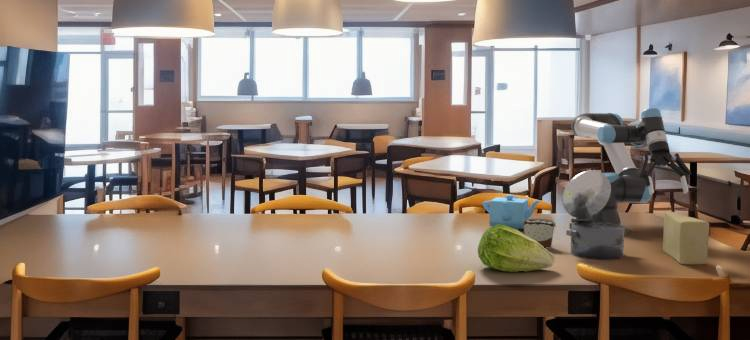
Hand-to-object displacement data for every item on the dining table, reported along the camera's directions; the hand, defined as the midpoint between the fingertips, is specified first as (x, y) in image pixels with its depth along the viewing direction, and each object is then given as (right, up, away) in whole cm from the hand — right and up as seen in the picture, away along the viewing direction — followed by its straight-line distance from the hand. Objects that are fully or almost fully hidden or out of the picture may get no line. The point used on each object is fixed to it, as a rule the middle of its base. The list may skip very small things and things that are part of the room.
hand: (669, 193), depth 274 cm
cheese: (-8, -22, -27) cm, 36 cm away
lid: (-37, -1, -18) cm, 41 cm away
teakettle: (-57, -16, +24) cm, 64 cm away
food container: (-53, -20, -9) cm, 57 cm away
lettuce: (-69, -24, -47) cm, 87 cm away
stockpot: (-36, -21, -22) cm, 47 cm away
